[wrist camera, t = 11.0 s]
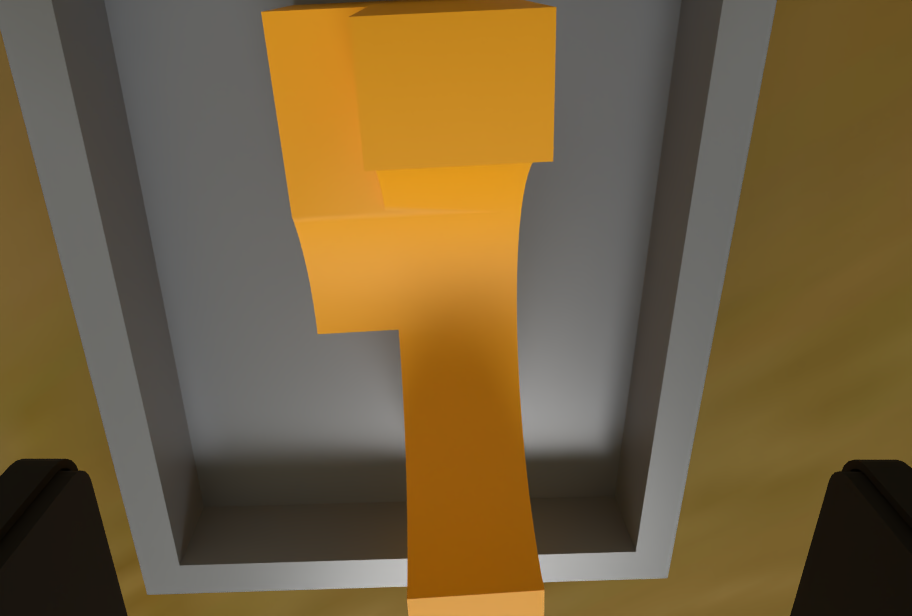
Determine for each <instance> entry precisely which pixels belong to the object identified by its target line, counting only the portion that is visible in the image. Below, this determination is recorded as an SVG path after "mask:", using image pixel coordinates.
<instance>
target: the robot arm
mask: <svg viewBox="0 0 912 616" xmlns="http://www.w3.org/2000/svg"><path fill="white" fill-rule="evenodd" d="M0 616H127V612H126V608H125V605H124V601H123V597H122V594H121V590H120V586H119V582H118V579H117V575H116V571H115V568H114V564H113V560H112V556H111V553H110V549H109V545H108V542H107V538H106V534H105V530H104V527H103V523H102V519H101V516H100V512H99V508H98V504H97V501H96V497H95V493H94V489H93V486H92V482H91V479H90V477H89V475H88V474H87V473H86V472H85V471H78V469H77V466H76V465H75V463H74V462H73V461H72V460H68V459H21V460H17V461H15V462H14V463H13V464H12V465H10V466H9V467H8V468H7V470H6V471H5V472H4V473H3V474H2V475H1V476H0ZM790 616H912V468H911V467H910V466H908V465H907V464H906V463H904V462H903V461H899V460H852V461H848V462H847V463H846V464H845V465H844V467H843V469H842V471H839V472H835V473H834V474H833V475H832V476H831V478H830V480H829V483H828V487H827V490H826V494H825V497H824V501H823V504H822V508H821V511H820V514H819V518H818V521H817V525H816V528H815V532H814V535H813V539H812V542H811V546H810V549H809V553H808V556H807V559H806V563H805V566H804V570H803V573H802V577H801V580H800V584H799V587H798V591H797V594H796V598H795V601H794V604H793V608H792V611H791V615H790Z"/></svg>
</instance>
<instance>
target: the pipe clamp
mask: <svg viewBox="0 0 912 616" xmlns="http://www.w3.org/2000/svg"><path fill="white" fill-rule="evenodd" d="M261 15H262V22H263V28H264V35H265V42H266V48H267V55H268V62H269V68H270V75H271V81H272V88H273V95H274V101H275V108H276V115H277V121H278V128H279V135H280V141H281V148H282V154H283V161H284V168H285V174H286V181H287V188H288V194H289V201H290V207H291V214H292V218H293V221H294V224H295V227H296V230H297V233H298V236H299V240H300V243H301V247H302V251H303V255H304V259H305V263H306V267H307V272H308V277H309V282H310V287H311V293H312V299H313V304H314V311H315V318H316V325H317V333H318V334H331V333H348V332H366V331H383V330H399V342H400V356H401V371H402V388H403V406H404V427H405V451H406V482H407V547H408V564H407V604H408V614H409V616H544V585H543V580H542V575H541V569H540V563H539V558H538V552H537V545H536V539H535V533H534V526H533V519H532V511H531V504H530V496H529V488H528V479H527V470H526V460H525V450H524V439H523V428H522V415H521V401H520V385H519V367H518V340H517V262H518V241H519V228H520V218H521V209H522V201H523V195H524V190H525V184H526V180H527V176H528V173H529V170H530V167H531V165H532V163H533V162H553V151H554V103H555V54H556V7H554V6H549V5H544V4H540V3H535V2H530V1H526V0H390V1H369V2H347V3H326V4H304V5H291V6H286V7H282V8H277V9H272V10H267V11H263V12H261Z"/></svg>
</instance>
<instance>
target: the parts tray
mask: <svg viewBox="0 0 912 616" xmlns="http://www.w3.org/2000/svg"><path fill="white" fill-rule="evenodd" d="M369 1H390V0H0V29H1V33H2V37H3V41H4V45H5V49H6V52H7V56H8V60H9V64H10V68H11V72H12V76H13V79H14V83H15V87H16V91H17V95H18V99H19V102H20V106H21V110H22V114H23V118H24V122H25V125H26V129H27V133H28V137H29V141H30V145H31V149H32V152H33V156H34V160H35V164H36V168H37V172H38V175H39V179H40V183H41V187H42V191H43V195H44V199H45V202H46V206H47V210H48V214H49V218H50V222H51V225H52V229H53V233H54V237H55V241H56V245H57V249H58V252H59V256H60V260H61V264H62V268H63V272H64V275H65V279H66V283H67V287H68V291H69V295H70V298H71V302H72V306H73V310H74V314H75V318H76V322H77V325H78V329H79V333H80V337H81V341H82V345H83V348H84V352H85V356H86V360H87V364H88V368H89V372H90V375H91V379H92V383H93V387H94V391H95V395H96V398H97V402H98V406H99V410H100V414H101V418H102V422H103V425H104V429H105V433H106V437H107V441H108V445H109V448H110V452H111V456H112V460H113V464H114V468H115V471H116V475H117V479H118V483H119V487H120V491H121V495H122V498H123V502H124V506H125V510H126V514H127V518H128V521H129V525H130V529H131V533H132V537H133V541H134V545H135V548H136V552H137V556H138V560H139V564H140V568H141V571H142V575H143V579H144V583H145V587H146V591H147V594H148V595H151V594H183V593H214V592H245V591H277V590H308V589H339V588H371V587H402V586H407V564H408V547H407V482H406V451H405V427H404V406H403V388H402V371H401V356H400V342H399V330H383V331H366V332H348V333H331V334H318V333H317V325H316V318H315V311H314V304H313V299H312V293H311V287H310V282H309V277H308V272H307V267H306V263H305V259H304V255H303V251H302V247H301V243H300V240H299V236H298V233H297V230H296V227H295V224H294V221H293V218H292V214H291V207H290V201H289V194H288V188H287V181H286V174H285V168H284V161H283V154H282V148H281V141H280V135H279V128H278V121H277V115H276V108H275V101H274V95H273V88H272V81H271V75H270V68H269V62H268V55H267V48H266V42H265V35H264V28H263V22H262V15H261V12H263V11H267V10H272V9H277V8H282V7H286V6H291V5H304V4H326V3H347V2H369ZM526 1H530V2H535V3H540V4H544V5H549V6H554V7H556V54H555V103H554V151H553V162H533V163H532V165H531V167H530V170H529V173H528V176H527V180H526V184H525V190H524V195H523V201H522V209H521V218H520V228H519V241H518V262H517V340H518V367H519V385H520V401H521V415H522V428H523V439H524V450H525V460H526V470H527V479H528V488H529V496H530V504H531V511H532V519H533V526H534V533H535V539H536V545H537V552H538V558H539V563H540V569H541V575H542V580H543V582H559V581H590V580H622V579H653V578H668V573H669V567H670V562H671V557H672V552H673V546H674V541H675V536H676V530H677V525H678V520H679V515H680V509H681V504H682V499H683V493H684V488H685V483H686V478H687V472H688V467H689V462H690V456H691V451H692V446H693V441H694V435H695V430H696V425H697V419H698V414H699V409H700V404H701V398H702V393H703V388H704V382H705V377H706V372H707V367H708V361H709V356H710V351H711V345H712V340H713V335H714V330H715V324H716V319H717V314H718V308H719V303H720V298H721V293H722V287H723V282H724V277H725V271H726V266H727V261H728V256H729V250H730V245H731V240H732V234H733V229H734V224H735V219H736V213H737V208H738V203H739V197H740V192H741V187H742V182H743V176H744V171H745V166H746V160H747V155H748V150H749V144H750V139H751V134H752V129H753V123H754V118H755V113H756V107H757V102H758V97H759V92H760V86H761V81H762V76H763V70H764V65H765V60H766V55H767V49H768V44H769V39H770V33H771V28H772V23H773V18H774V12H775V7H776V2H777V0H526Z"/></svg>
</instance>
